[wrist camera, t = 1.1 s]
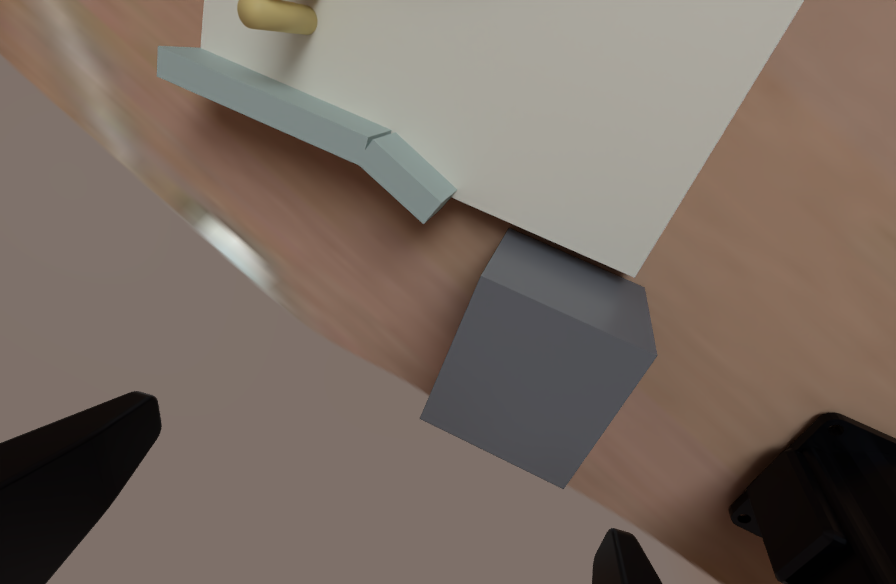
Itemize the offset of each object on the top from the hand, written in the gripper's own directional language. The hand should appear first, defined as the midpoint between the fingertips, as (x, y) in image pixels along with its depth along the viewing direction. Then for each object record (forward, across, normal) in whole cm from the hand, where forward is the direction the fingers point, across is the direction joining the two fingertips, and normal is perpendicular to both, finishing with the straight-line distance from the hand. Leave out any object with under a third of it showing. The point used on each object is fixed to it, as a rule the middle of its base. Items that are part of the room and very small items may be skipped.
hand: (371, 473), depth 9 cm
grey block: (+12, -4, +2) cm, 12 cm away
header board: (+12, +2, -7) cm, 14 cm away
